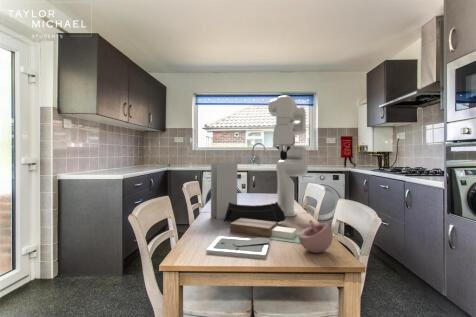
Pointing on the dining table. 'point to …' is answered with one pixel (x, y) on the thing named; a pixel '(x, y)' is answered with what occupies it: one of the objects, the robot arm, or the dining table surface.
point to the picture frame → (240, 247)
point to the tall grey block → (223, 187)
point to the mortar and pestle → (316, 237)
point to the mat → (293, 240)
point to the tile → (283, 232)
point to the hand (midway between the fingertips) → (283, 159)
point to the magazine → (255, 212)
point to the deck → (252, 227)
